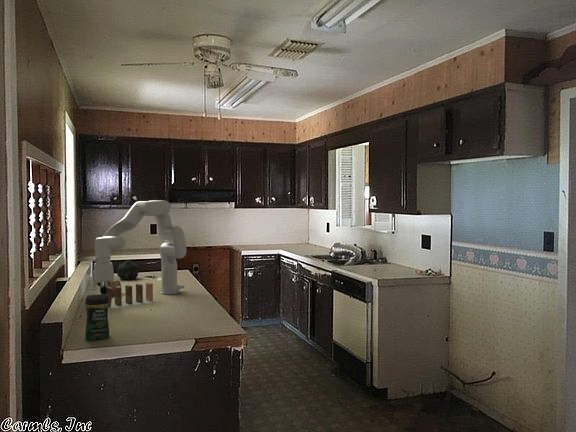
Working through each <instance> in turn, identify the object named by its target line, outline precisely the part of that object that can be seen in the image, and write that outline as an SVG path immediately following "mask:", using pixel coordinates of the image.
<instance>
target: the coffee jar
mask: <svg viewBox="0 0 576 432" xmlns="http://www.w3.org/2000/svg"><path fill="white" fill-rule="evenodd" d="M84 307H85V309H86V322H85V323H86V324H85V331H84V337H85V340H87V341H98V340H99V341H100V340H105V339H107V338H109V337H110V326H109V325H110V324H109V309H108V307H109V298H108V295H107V294H101V293H100V294H91V295H86V297H85V303H84Z"/></svg>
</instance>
